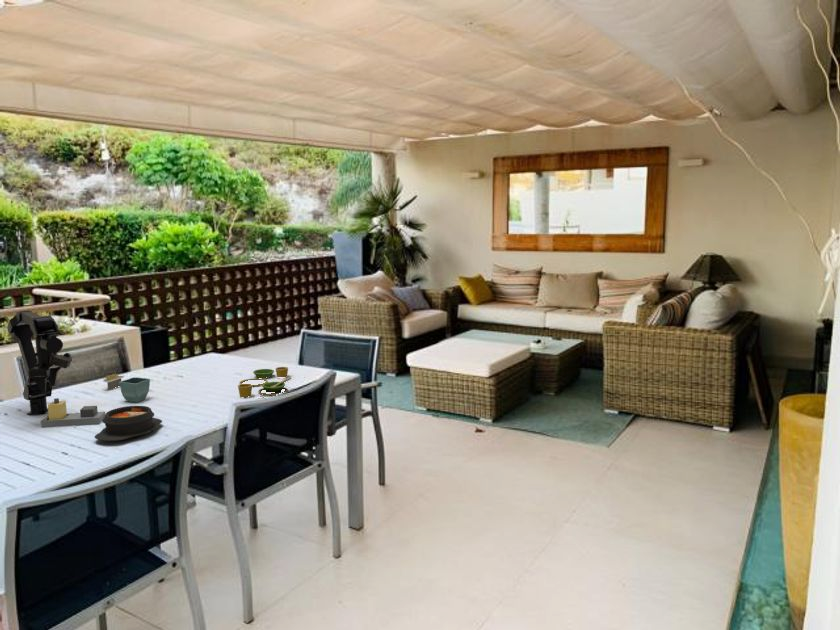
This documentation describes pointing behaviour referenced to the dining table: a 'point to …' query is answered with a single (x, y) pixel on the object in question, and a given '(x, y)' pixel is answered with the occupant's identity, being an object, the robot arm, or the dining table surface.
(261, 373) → the tableware set
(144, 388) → the flower pot
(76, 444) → the dining table surface
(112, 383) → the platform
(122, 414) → the casserole
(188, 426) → the dining table surface
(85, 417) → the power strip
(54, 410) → the plug
